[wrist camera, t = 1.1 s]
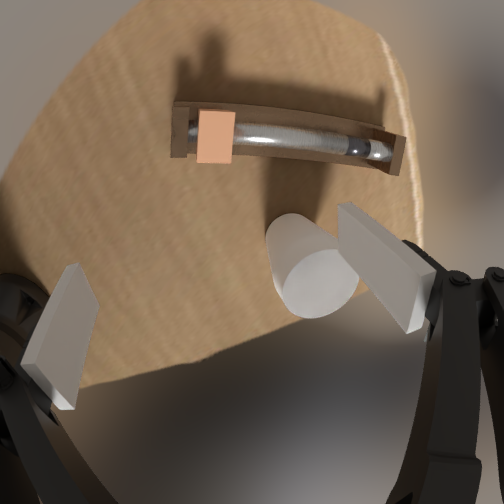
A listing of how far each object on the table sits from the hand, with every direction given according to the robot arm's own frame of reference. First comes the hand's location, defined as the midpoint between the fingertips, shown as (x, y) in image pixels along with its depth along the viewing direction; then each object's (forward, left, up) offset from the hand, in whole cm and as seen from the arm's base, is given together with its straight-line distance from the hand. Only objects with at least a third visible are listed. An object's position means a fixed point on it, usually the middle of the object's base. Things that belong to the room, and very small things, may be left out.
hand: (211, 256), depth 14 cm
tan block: (+1, +4, -20) cm, 20 cm away
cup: (+12, -10, -23) cm, 28 cm away
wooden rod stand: (+10, +4, -23) cm, 25 cm away
